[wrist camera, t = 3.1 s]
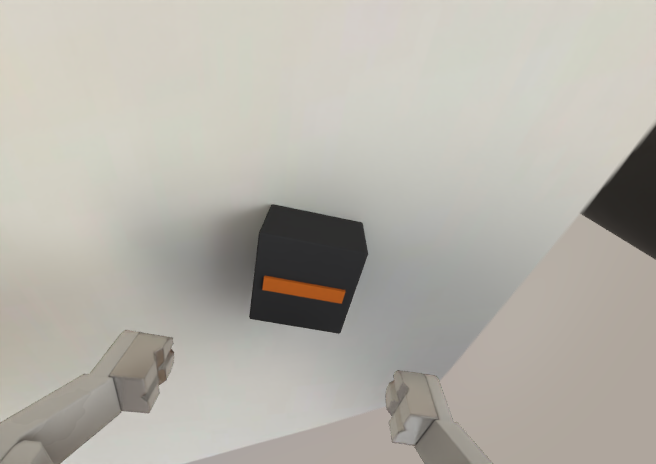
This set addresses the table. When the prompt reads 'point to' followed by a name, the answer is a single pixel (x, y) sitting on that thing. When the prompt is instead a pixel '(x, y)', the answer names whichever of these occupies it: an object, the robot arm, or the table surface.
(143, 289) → the table surface
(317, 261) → the black block with stripe
